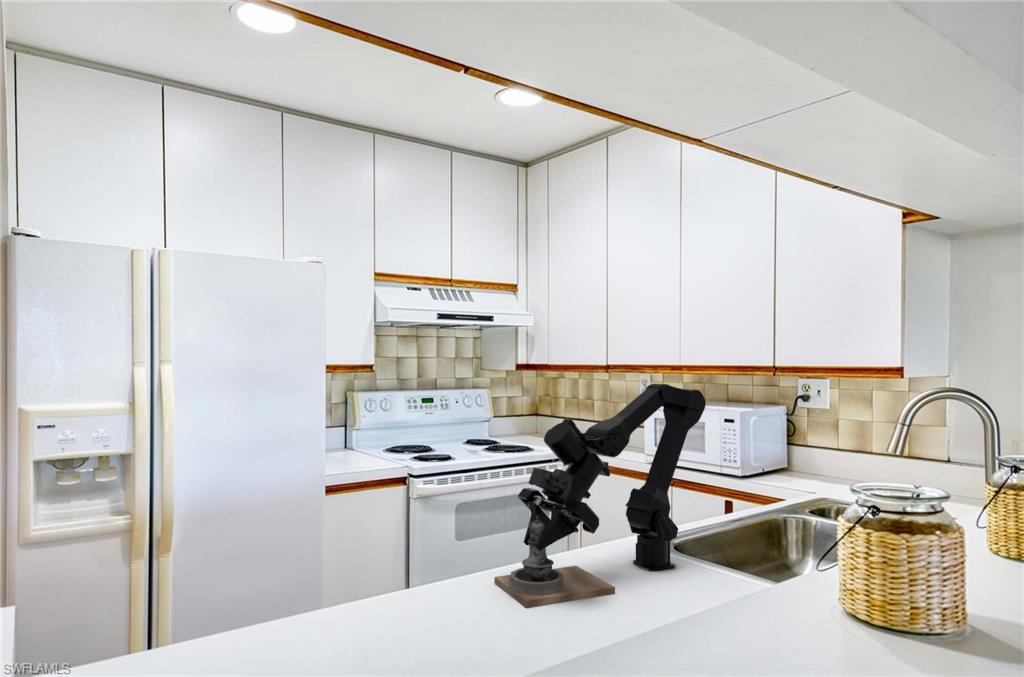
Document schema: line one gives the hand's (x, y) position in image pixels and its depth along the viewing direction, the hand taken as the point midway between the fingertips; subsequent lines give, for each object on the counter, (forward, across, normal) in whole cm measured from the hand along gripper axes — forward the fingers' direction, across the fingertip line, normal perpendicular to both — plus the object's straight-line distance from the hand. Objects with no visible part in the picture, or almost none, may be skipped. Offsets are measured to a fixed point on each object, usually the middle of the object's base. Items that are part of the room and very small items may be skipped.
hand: (531, 546), depth 116 cm
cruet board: (+2, 0, +10) cm, 10 cm away
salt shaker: (+4, 0, +6) cm, 7 cm away
